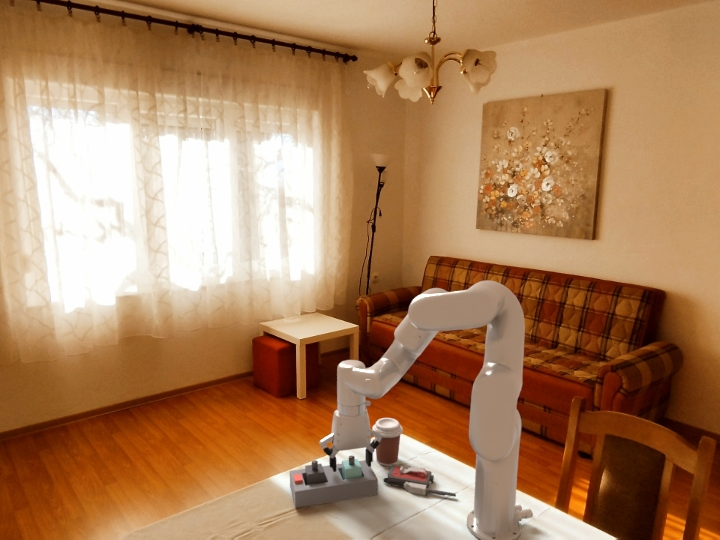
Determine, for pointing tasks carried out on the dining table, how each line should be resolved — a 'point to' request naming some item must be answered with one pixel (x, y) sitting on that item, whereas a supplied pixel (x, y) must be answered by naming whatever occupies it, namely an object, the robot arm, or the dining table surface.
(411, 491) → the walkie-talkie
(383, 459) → the coffee cup
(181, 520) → the dining table surface
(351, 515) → the dining table surface
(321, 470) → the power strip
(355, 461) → the plug
